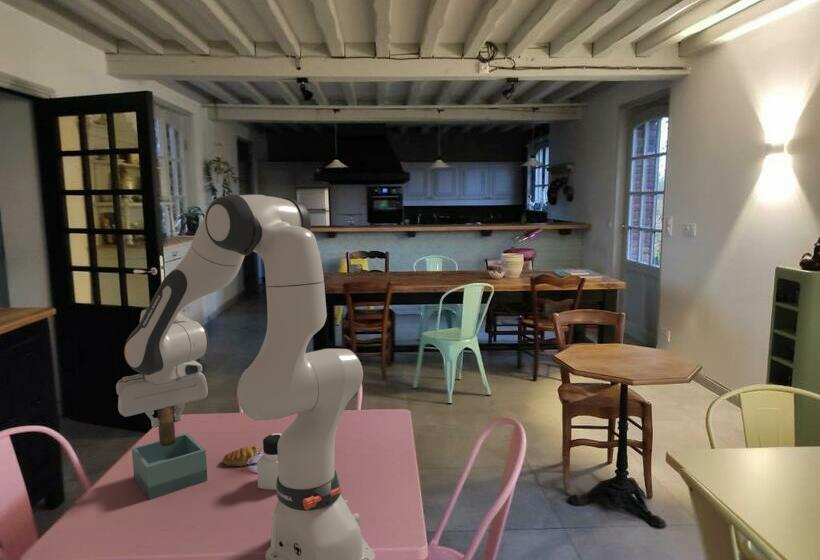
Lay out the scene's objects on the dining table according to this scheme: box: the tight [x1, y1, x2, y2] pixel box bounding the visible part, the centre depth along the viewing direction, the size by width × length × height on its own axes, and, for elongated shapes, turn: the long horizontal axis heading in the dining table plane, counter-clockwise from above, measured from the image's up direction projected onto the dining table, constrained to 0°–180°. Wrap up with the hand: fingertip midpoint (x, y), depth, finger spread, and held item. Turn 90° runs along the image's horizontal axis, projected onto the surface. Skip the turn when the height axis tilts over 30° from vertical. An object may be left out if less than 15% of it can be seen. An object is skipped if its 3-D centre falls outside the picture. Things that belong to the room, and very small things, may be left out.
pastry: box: [222, 445, 259, 467], centre depth 145 cm, size 9×7×4 cm
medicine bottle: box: [256, 433, 282, 491], centre depth 132 cm, size 7×7×12 cm
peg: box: [156, 406, 176, 446], centre depth 133 cm, size 4×4×12 cm
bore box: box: [131, 432, 208, 501], centre depth 135 cm, size 14×14×8 cm
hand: (166, 423), depth 134 cm, fingers closed on peg, 4 cm apart
